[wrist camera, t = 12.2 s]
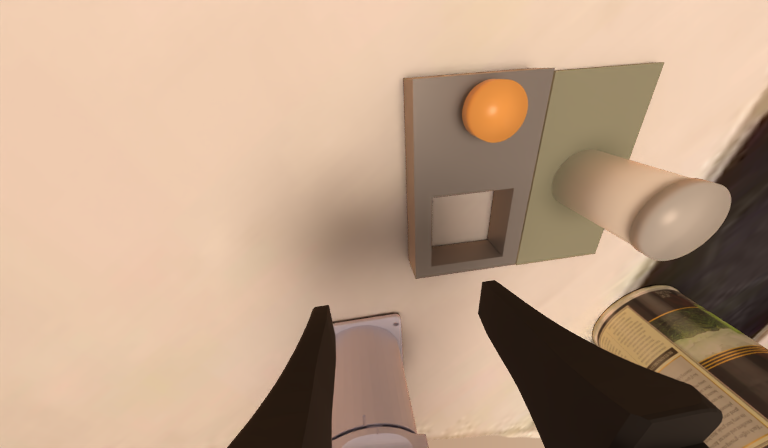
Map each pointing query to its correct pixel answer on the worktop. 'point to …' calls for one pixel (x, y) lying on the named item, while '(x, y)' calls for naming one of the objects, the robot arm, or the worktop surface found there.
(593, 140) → the mat
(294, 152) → the worktop surface
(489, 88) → the button
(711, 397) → the coffee can
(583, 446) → the robot arm
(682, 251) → the cylinder
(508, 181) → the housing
